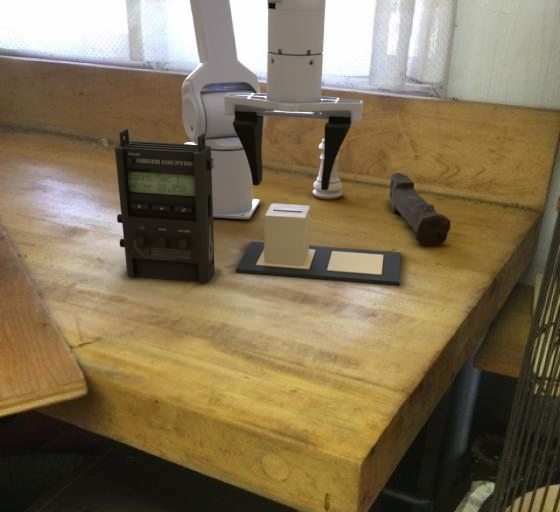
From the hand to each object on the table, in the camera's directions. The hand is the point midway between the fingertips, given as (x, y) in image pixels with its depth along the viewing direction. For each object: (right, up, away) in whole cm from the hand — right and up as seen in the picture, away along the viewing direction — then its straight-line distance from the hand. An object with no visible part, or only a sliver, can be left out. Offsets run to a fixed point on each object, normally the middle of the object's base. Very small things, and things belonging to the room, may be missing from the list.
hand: (291, 185), depth 78 cm
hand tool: (+16, -1, +15) cm, 22 cm away
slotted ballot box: (0, -8, +2) cm, 8 cm away
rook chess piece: (+6, +5, +25) cm, 27 cm away
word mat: (+3, -8, +2) cm, 9 cm away
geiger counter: (-13, -11, -2) cm, 17 cm away
